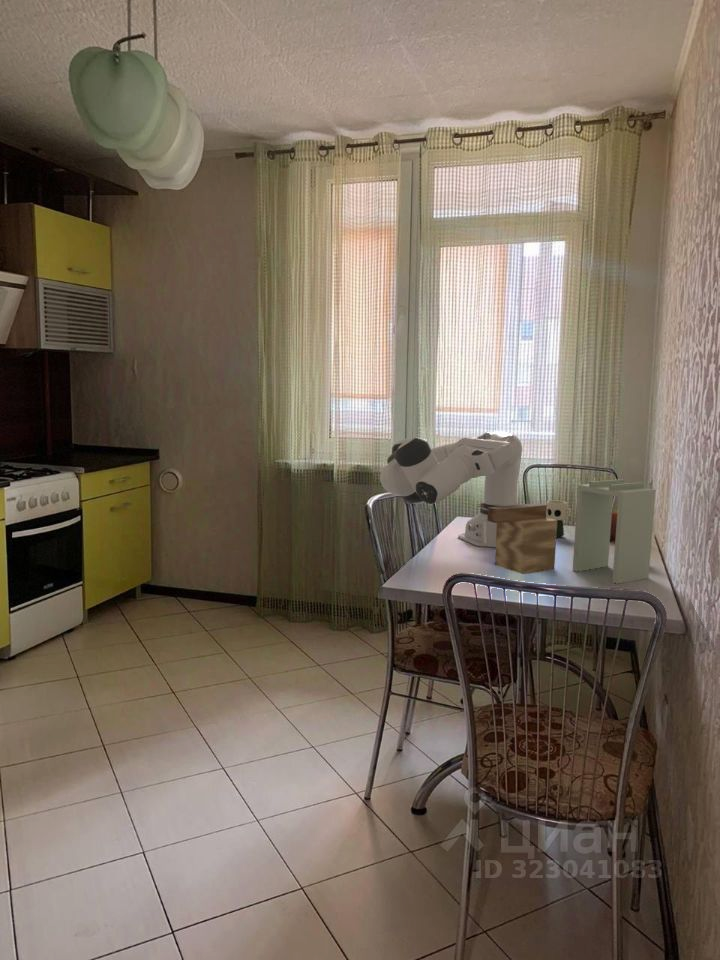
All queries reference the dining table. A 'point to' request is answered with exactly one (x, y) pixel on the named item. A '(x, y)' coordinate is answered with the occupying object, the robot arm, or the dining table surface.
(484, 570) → the dining table surface
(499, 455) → the robot arm
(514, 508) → the walnut bar
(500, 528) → the oak step
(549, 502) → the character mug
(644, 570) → the bridge
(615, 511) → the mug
